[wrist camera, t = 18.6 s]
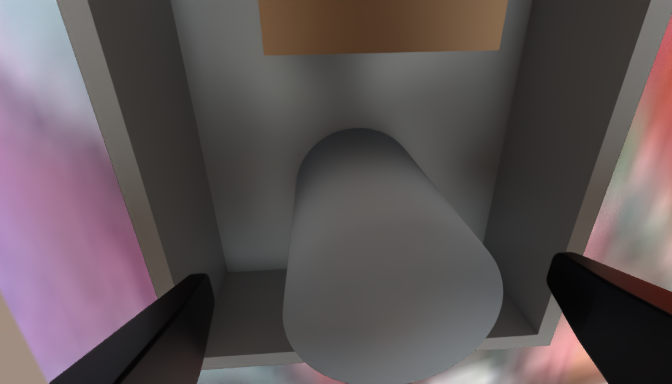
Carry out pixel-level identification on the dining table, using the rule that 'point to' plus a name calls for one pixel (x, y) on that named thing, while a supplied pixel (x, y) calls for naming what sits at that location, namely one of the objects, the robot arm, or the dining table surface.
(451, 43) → the walnut cube
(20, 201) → the dining table surface
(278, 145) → the tote
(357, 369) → the slate cylinder
